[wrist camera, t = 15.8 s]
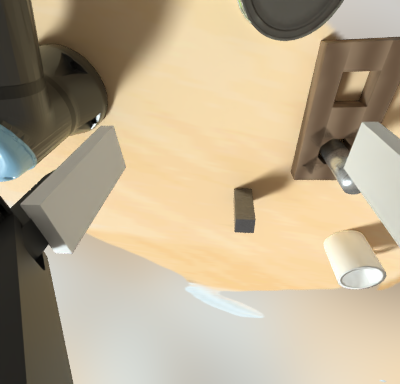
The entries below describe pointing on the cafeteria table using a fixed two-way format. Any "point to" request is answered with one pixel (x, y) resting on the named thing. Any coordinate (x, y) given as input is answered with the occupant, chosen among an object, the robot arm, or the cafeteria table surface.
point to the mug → (353, 260)
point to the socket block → (344, 110)
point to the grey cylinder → (338, 164)
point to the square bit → (243, 211)
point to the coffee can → (288, 16)
